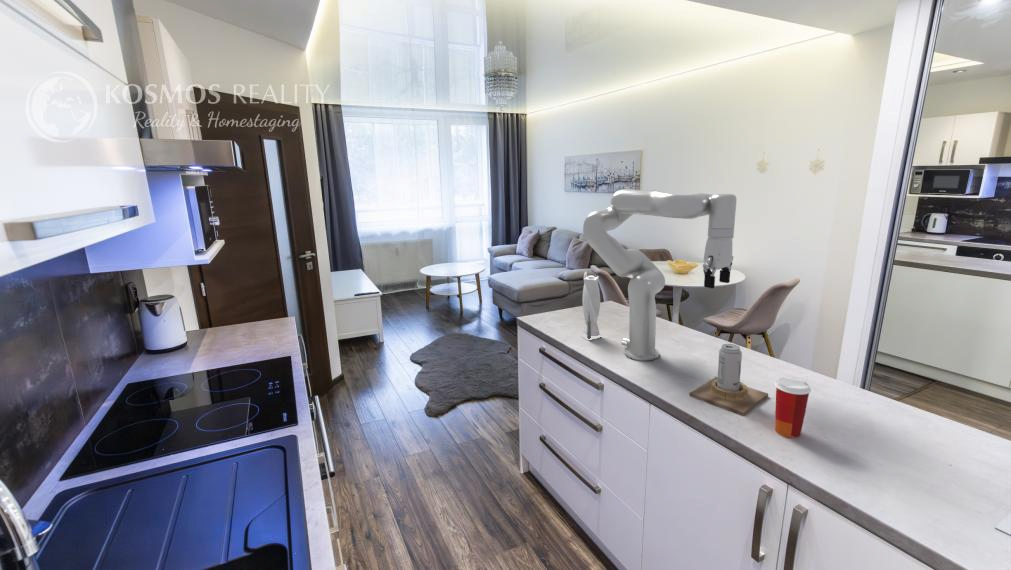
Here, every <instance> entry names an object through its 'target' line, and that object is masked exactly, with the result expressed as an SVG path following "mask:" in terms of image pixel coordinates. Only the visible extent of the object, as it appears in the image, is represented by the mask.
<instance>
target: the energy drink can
mask: <svg viewBox="0 0 1011 570" xmlns="http://www.w3.org/2000/svg"><path fill="white" fill-rule="evenodd" d="M742 356H743V352H742V350H741V347H740V346H739V345H737V344H734V343H733V344H732V343H724V344H722V345H721V348H719V350H718V363H717V364H718V365H717V366H718V367H717V377H718V378H717V387H718V388H720V389H722V390H725V391H732V392H737V391H739V386H740V382H741V372H742V371H741V370H742Z"/></svg>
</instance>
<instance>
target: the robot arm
mask: <svg viewBox="0 0 1011 570" xmlns="http://www.w3.org/2000/svg"><path fill="white" fill-rule="evenodd" d="M736 210H737V196H736V195H735V194H732V193H716V194H710V193H701V192H700V193H699V192H698V193H693V194H674V193H673V194H669V193H664V192H661V191H659V190H648V189H647V190H639V189H635V188H626V189H619V190H617V191H616V192H614V193H613V195H612V196H611V198H610V206H608V207H607V208H604V209H598V210H595V211H592V212H590V213H589V214H588V215H587V216H586V218H585V219H584V221H583V224H582V233H583V236H584V239H585V241H586V243H587V244H588V245H589V246H590V248H591V249H593V250H594V251H595V252H596V253H597V255H599V257H600V258H601V259H602V260H603V262H605V263H606V265H607V266H608V267H609V268H610V269H611V270H612V271H613V273H614V274H615V275H616V276H618V277H621V278H625V277H626V278H627V277H629V276H632V277H631V279H630V280H629V282H628V286H627V293H628V294H627V295H628V301H629V303H628V305H629V308H628V309H629V315H628V316H629V317H628V318H629V323H628V324H629V325H628V326H629V327H628V330H629V331H628V338H625V337H624V338H623V339H622V341H621V345H622V346H625V347H626V348H625V349H624V355H625V356H626V357H627V356H628V357H627V358H629V359H631V358H632V360H635V361H641V362H643V361H645V362H646V361H654V360H656V359H658V358H659V357H660V351H659V350H657V348H656V333H657V332H656V329H657V303H656V299H655V298H656V297H655V296H656V295H657V294H658V293H660V292H661V291H662V290H663V289H664V287H665V286H666V278H665V275H664V274H663V272H662V271H661V270H660V269H659V267H657V266H656V265H655V264H654V263H653V262H652V261H651V260H650V258H649V257H648V256H647V255H646V254H645V253H644V252H642V251H641V250H639V249H637V248H628V249H626V248H625V247H623V245H621V243H620V242H619V241H618V240H617V239H616V238H614V236H612V235H610V234H609V233H608V232H609V231H612V230H615V229H617V228H619V227H620V226H621V225H622V224H623V223H625V222H626V221H628V219H630V218H631V217H632V216H633V215H639V216H642V215H643V216H653V217H663V218H668V219H684V220H685V219H689V220H691V219H692V220H693V219H696V218H699V217H705V216H708V223H707V224H708V226H707V227H708V228H707V240H706V242H705V246H704V256H703V263H702V268H703V270H702V271H703V276H704V280H703V281H704V283H703V287H704V288H708V289H714V288H715V284H716V275H715V274H716V271H718V270H719V279H718V281H719V283H723V284H724V283H725V284H729V283H730V282H731V281H730V279H731V271H732V265H733V260H734V256H733V239H734V237H735V222H736V212H737V211H736Z"/></svg>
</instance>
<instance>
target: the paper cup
mask: <svg viewBox="0 0 1011 570" xmlns="http://www.w3.org/2000/svg"><path fill="white" fill-rule="evenodd" d="M774 387H775V410H774V411H775V412H774V413H775V416H774V419H775V420H774V421H775V422H774V429H775V433H776V434H778V435H780V436H783V437H785V438H789V439H797V438H799V437H800V436H801V434H802V431H803V430H802V429H803V425H804V424H803V423H804V420H805V416H806V413H807V412H806V410H807V406H808V399H809V394H810V393H811V392H812V389H811V387H810V385H809V383H807V381H805V380H804V379H800V378H797V377H793V376H792V377H791V376H781V377H779V378H778V379H777V380H776V381H775V383H774Z"/></svg>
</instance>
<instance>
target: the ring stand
mask: <svg viewBox="0 0 1011 570" xmlns="http://www.w3.org/2000/svg"><path fill="white" fill-rule="evenodd" d="M717 378H718V376H714V377H713V378H712V379H710V380H708V381H707V382H705V383H703V384H702V385H700V386H698V387H696V388H695V389H694V390H692V391H690V392H689V397H692V398H695V399H698V400H700V401H702V402H705V403H708V404H711V405H713V406H716V407H719V408H721V409H723V410H727V411H730V412H733V413H735V414H738V415H740V416H745V415H746V414H747V413H749V412H750V411H752V410H753V409H754V408H755V407H757V406H758V405H759V404H760V403H762V402H763V401H764V400H766V399H767V398H768V397H769V393H768V392H765V391H762V390H758V389H755V388H752V387H749V386H748V385H746V384H744V382H742V381H740V386H739V391H737V392H732V391H725V390H722V389H720V388H718V387H717Z"/></svg>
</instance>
